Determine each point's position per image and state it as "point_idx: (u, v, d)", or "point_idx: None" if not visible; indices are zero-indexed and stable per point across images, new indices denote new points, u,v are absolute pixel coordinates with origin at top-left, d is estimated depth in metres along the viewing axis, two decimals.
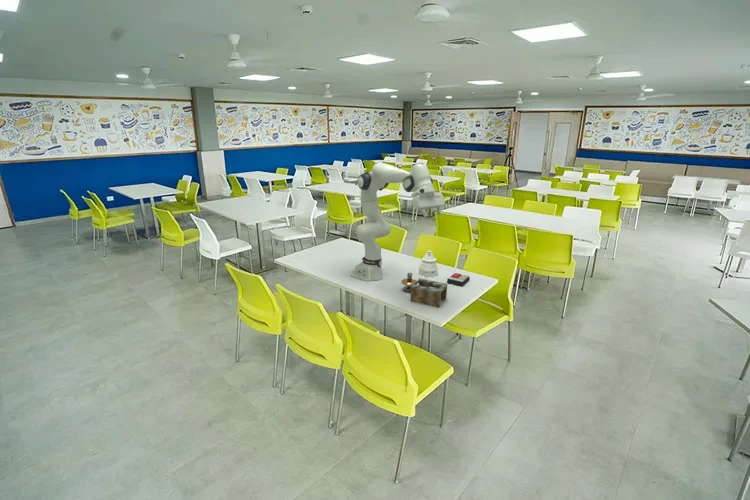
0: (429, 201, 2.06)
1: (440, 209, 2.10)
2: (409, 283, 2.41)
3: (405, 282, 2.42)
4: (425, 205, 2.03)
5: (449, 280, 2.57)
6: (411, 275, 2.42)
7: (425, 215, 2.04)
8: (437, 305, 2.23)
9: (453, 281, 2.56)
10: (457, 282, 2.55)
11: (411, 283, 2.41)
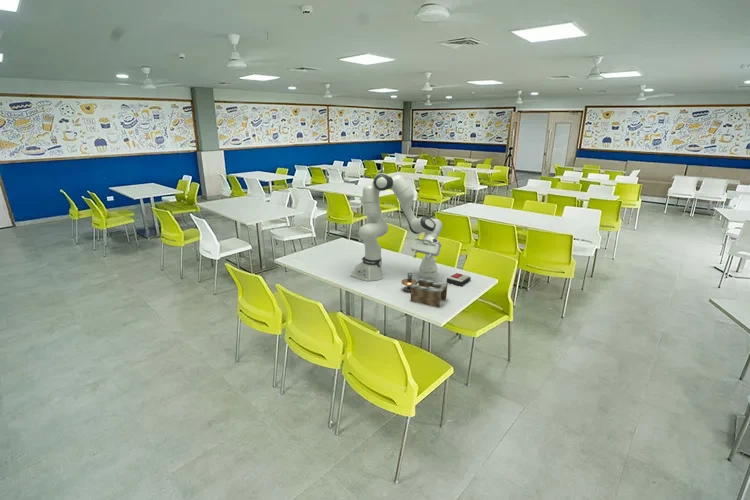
0: None
1: None
2: (409, 283, 2.41)
3: (405, 282, 2.42)
4: None
5: (448, 280, 2.58)
6: (411, 275, 2.42)
7: (428, 259, 2.47)
8: (437, 305, 2.23)
9: (452, 281, 2.56)
10: (456, 282, 2.55)
11: (411, 283, 2.41)
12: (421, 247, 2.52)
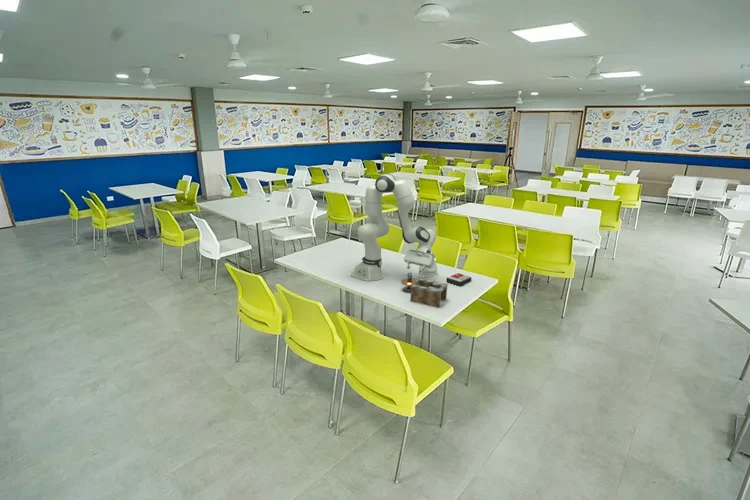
0: None
1: (408, 265, 2.51)
2: (409, 283, 2.41)
3: (405, 282, 2.42)
4: None
5: (448, 279, 2.59)
6: (411, 275, 2.42)
7: (421, 271, 2.43)
8: (437, 305, 2.23)
9: (452, 280, 2.57)
10: (455, 282, 2.55)
11: (411, 283, 2.41)
12: (414, 258, 2.48)
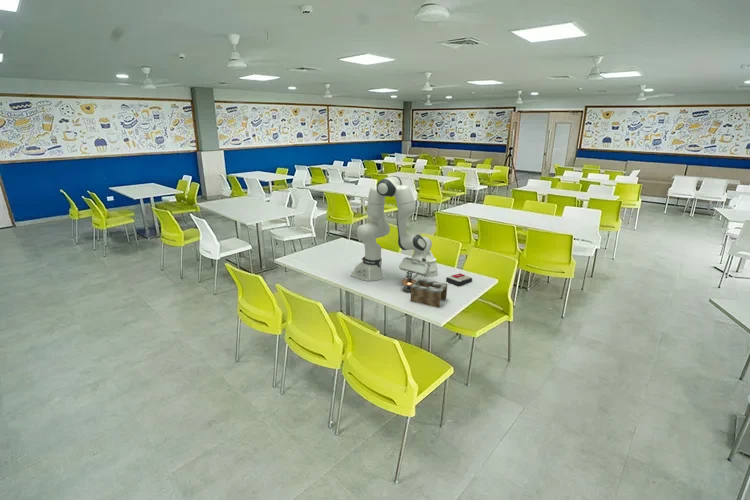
0: None
1: None
2: (409, 283, 2.41)
3: (405, 282, 2.42)
4: None
5: (448, 279, 2.59)
6: (411, 275, 2.42)
7: (413, 278, 2.42)
8: (437, 305, 2.23)
9: (451, 280, 2.57)
10: (454, 281, 2.55)
11: (411, 283, 2.41)
12: (410, 266, 2.45)
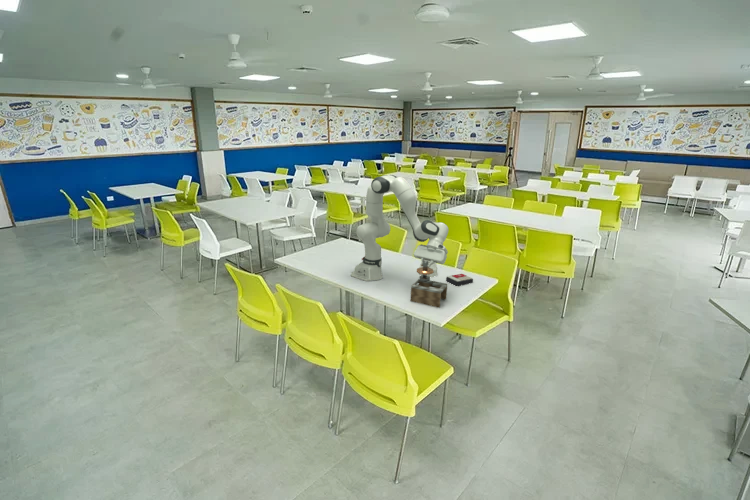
0: None
1: (422, 262, 2.30)
2: (425, 271, 2.25)
3: (421, 270, 2.27)
4: None
5: (447, 278, 2.60)
6: (427, 263, 2.26)
7: (429, 266, 2.26)
8: (437, 305, 2.23)
9: (450, 280, 2.58)
10: (453, 281, 2.56)
11: (427, 271, 2.25)
12: (425, 254, 2.29)
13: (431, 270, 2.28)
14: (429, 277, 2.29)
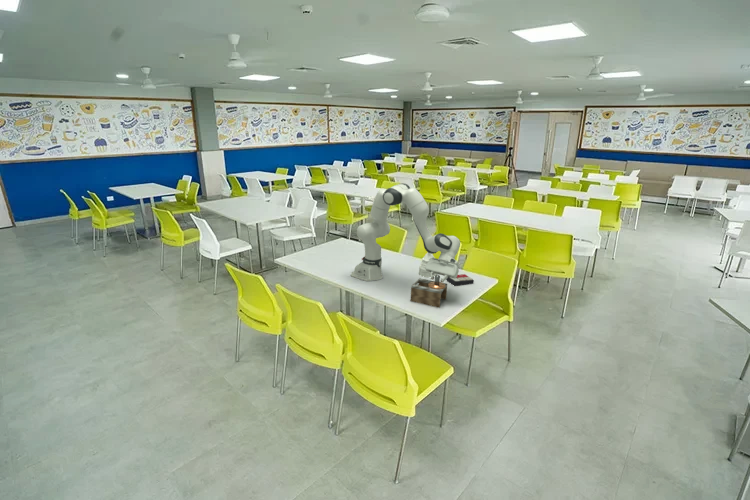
0: None
1: None
2: (437, 286, 2.24)
3: (432, 285, 2.25)
4: None
5: None
6: (439, 278, 2.25)
7: (443, 281, 2.24)
8: (437, 305, 2.23)
9: (449, 279, 2.59)
10: (452, 281, 2.57)
11: (439, 286, 2.24)
12: (437, 268, 2.28)
13: (443, 285, 2.27)
14: (441, 292, 2.28)
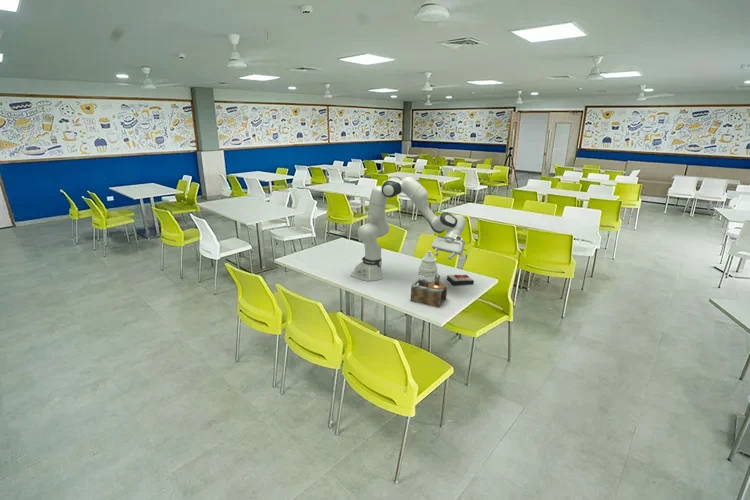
0: None
1: (436, 252, 2.38)
2: (437, 286, 2.24)
3: (432, 285, 2.25)
4: None
5: (447, 277, 2.63)
6: (439, 278, 2.25)
7: (451, 258, 2.31)
8: (437, 305, 2.23)
9: (449, 279, 2.60)
10: (451, 280, 2.57)
11: (439, 286, 2.24)
12: (443, 245, 2.36)
13: (443, 285, 2.27)
14: (441, 292, 2.28)
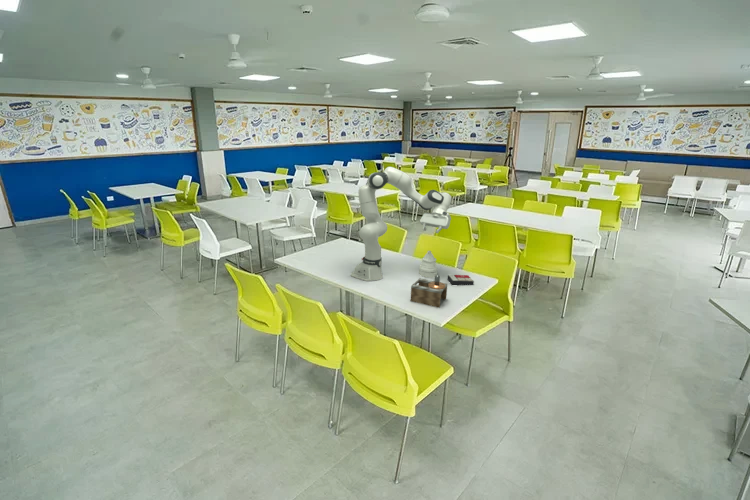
0: None
1: (424, 227, 2.56)
2: (437, 286, 2.24)
3: (432, 285, 2.25)
4: None
5: (448, 277, 2.63)
6: (439, 278, 2.25)
7: (438, 232, 2.48)
8: (437, 305, 2.23)
9: (449, 278, 2.61)
10: (450, 280, 2.58)
11: (439, 286, 2.24)
12: (431, 220, 2.53)
13: (443, 285, 2.27)
14: (441, 292, 2.28)
